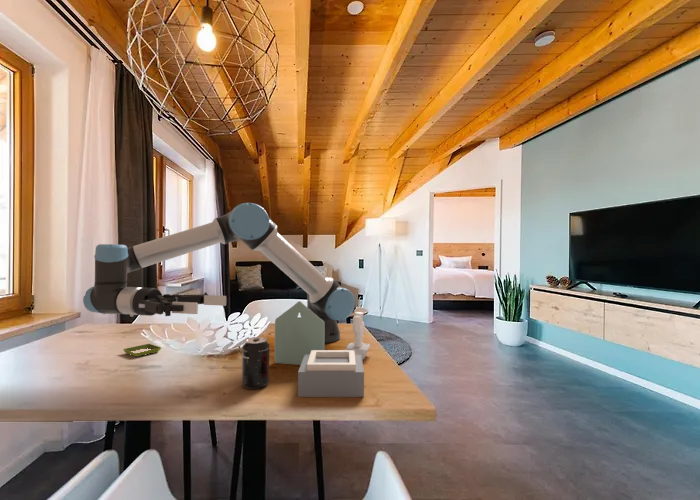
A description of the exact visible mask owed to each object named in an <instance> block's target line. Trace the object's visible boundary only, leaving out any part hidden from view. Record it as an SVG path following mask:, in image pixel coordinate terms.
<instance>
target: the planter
mask: <svg viewBox="0 0 700 500" xmlns="http://www.w3.org/2000/svg"><path fill="white" fill-rule="evenodd" d="M299 315H300V317H299ZM325 345H326V343H325V322H324V321H323V320H322V319H320V318H319V317H318V316H317V315H316V314H314V313H313V312H312V311H311V310H310V309H308V308H307V305H305V304H304V303H303V302H302V301H297V302H296V303H295V304H294V305H292V306H291V307H290V308H288V309H287V310H285V312H283V313H281V315H279V316H278V317H276V318H275V320H274V363H275V364H282V365H283V364H285V365H295V366H296V365H298V366H301V363H302V360H303V358H304V355H305V354H310V353H311V350H326V347H325Z"/></svg>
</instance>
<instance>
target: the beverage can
mask: <svg viewBox="0 0 700 500" xmlns="http://www.w3.org/2000/svg"><path fill="white" fill-rule="evenodd" d="M241 348H242V351H241V355H242V357H241V384H242V386H244V387H245V388H246V389H248V390H258V389H261V388H263V387H265V386H267V384H268V383H270V344H269V342H268V339H267V337H263V336H254V337H248V338H246V339H244V344H243V345H242V346H241Z"/></svg>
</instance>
